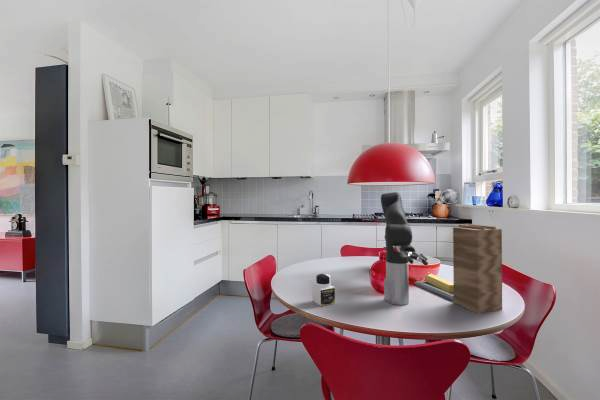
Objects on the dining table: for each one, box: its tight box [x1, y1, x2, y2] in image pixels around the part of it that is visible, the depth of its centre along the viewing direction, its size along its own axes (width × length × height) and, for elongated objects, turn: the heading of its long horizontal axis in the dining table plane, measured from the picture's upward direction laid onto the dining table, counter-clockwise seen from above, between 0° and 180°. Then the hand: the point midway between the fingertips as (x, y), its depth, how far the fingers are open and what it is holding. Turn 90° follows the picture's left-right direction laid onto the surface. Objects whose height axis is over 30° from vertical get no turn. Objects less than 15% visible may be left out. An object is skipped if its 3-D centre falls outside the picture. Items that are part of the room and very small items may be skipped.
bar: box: [424, 273, 454, 293], centre depth 140 cm, size 4×20×4 cm, turn 15°
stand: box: [452, 223, 503, 314], centre depth 118 cm, size 12×12×33 cm
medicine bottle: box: [312, 273, 336, 307], centre depth 123 cm, size 7×7×12 cm
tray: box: [414, 281, 454, 302], centre depth 137 cm, size 11×25×2 cm, turn 15°
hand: (419, 263), depth 151 cm, fingers open, 8 cm apart
